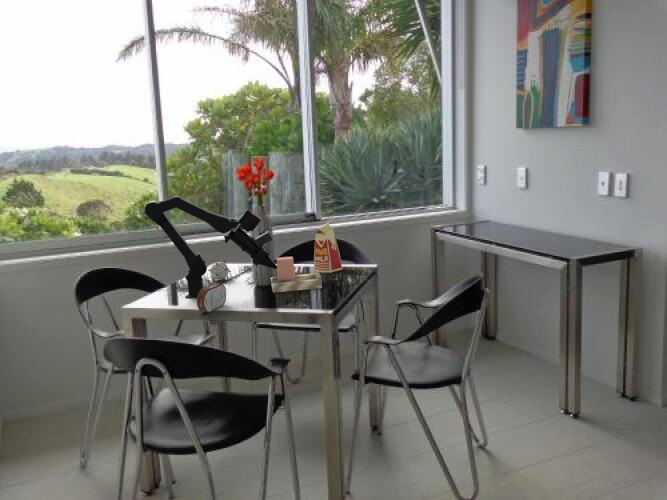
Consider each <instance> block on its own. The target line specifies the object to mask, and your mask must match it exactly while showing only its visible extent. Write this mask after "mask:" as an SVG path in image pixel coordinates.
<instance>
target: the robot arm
mask: <svg viewBox="0 0 667 500" xmlns="http://www.w3.org/2000/svg"><path fill="white" fill-rule="evenodd" d="M173 209H178V210H181V211H183V212H184V213H187V214H189V215H191V216H193V217H195V218H197V219H199V220H200V221H201V220H202V221H203V222H205V223H206V224H208V225H209V226H210V227H211V228H213V229H214V230H215V231H217V232H219V233H220V234H224V235H223V237H224V243H225V244H228V242H229V241H231V242H232V243H233V244H234V245H236V246H237V247H238V248H240V250H241V252H244V253H245V254H247V255H248V256H249V257H250V258H251V261H252V264H253V265H255V266H256V267H258V265H261V266H264V267H268V268H271V269H274V270H277V263H275V262H274V260H273V259H272V257H270V255H269V249H268V248H266V249H265V247H264V248H262V247H263V246H264V245H263V244H265V245H266V244H267V243H268V242H271V241H273V238H274V237H272V235H271V233H270V231H269V230H264V231H263V234H262V233H261V232H260V231H259V235H258V236H256V237H254V236H251V235H249V234H248V233H250V232H254V230H255V229H256V228H257V227H258V226H259V225H260V223H261V222H262V221H263V220H262V219H261V218H260V216H258V215H257V214H256V213H254V212H253V211H251V210H250V209H249V208H247V209H246V210H245V211H244V213H243V214H242V216H240V218H239V219H238V218H237V219H236V218H230V217H229V216H226V215H222V214H220V213H215V212H211V211H209V210H207V209H205V208H203V207H200V206H199V205H197V204H195V203H192V202H190V201H188V200H187V199H184V198H182V197H181V196H179V195H174V196H173V197H171V198H168V199H164V200H151V201H149V202H148V203H147V204H146V205H145V206H144V214H145V215H146V216H147V217H148V218H149V219H150V220H151V221H152V222H154V223H155V224H156V225H158V226H159V228H161V229H162V231H163V232H164V233H165V235H166V236H167V237H168V239H169V240H170V241H171V242H172V243H173V245H174V246H175V247H176V249H177V250H178V251H179V252H180V254H181V255H182V257H183V258H184V260H185V262H186V264H187V267H188V268H189V270H188V271H187V272H186V275H185V281H186V284H187V292H188V293H187V294H186V295H184V298H186V299H187V298H188V299H189V298H197V297H198V294H199V292H200V290H201V289H202V288H204V287H205V286H204V278H203V276H204V275H205V274H207V271H208V262H207V260H208V259H207V258H206V257H204V255H203V254H202V252H201V251H199V252H198V253H197V252H196V251H195V250H193V248H192V247H191V246H190V245H189V243H188V242H187V241H186V239H185V238H184V237H183V235H182V234H181V233H180V231H179V230H178V229H177V228H176V227H175V225H174V224H173V223H172V222H171V220H170V217H169V216H168V214H167V212H169V211H170V210H173ZM234 229H235V230H234ZM262 245H263V246H262Z"/></svg>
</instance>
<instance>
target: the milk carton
mask: <svg viewBox="0 0 667 500" xmlns="http://www.w3.org/2000/svg"><path fill="white" fill-rule="evenodd" d="M313 251H314V254H313V255H314V256H313V271H314V272H315V271H318V273H333V272H337V271H342V270H343V264H342V261H341V260H342V259H341V255H340V249H339V247H338V242H337V238H336V235H335V231H334V229H333V228H332V226H331V225H330V222H329V221H327V222H326V223H325V224H324V225H323V226H320V227H318V231H317V232H315V239H314V250H313Z"/></svg>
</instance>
